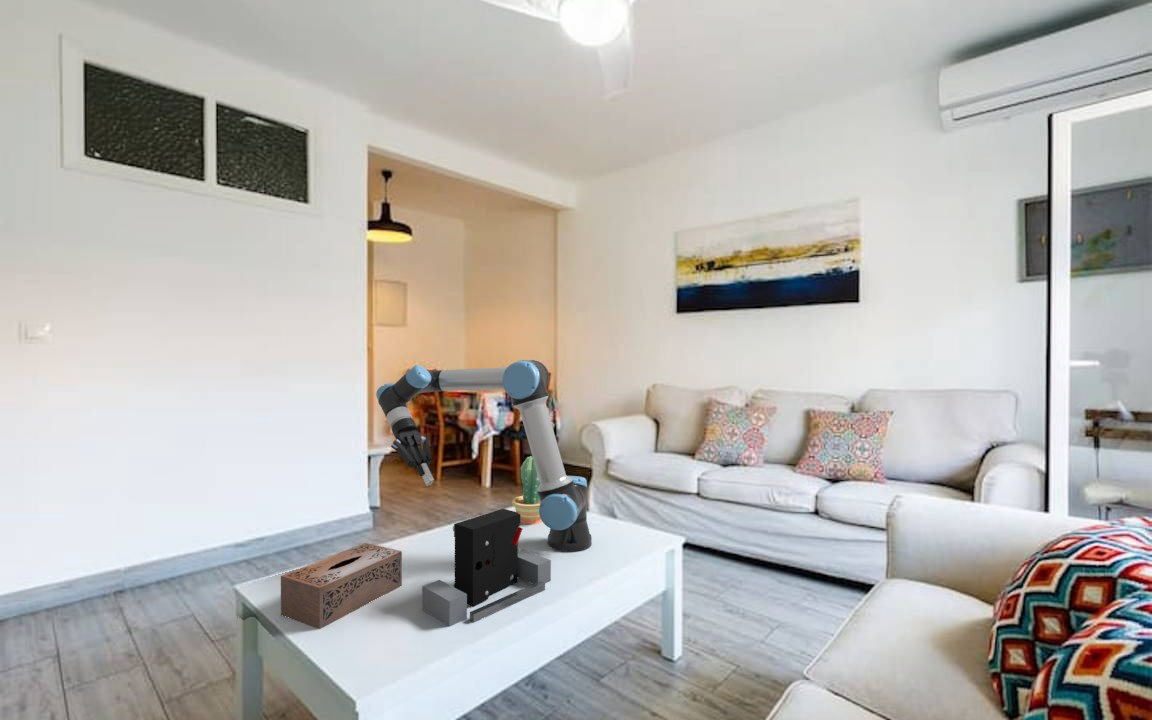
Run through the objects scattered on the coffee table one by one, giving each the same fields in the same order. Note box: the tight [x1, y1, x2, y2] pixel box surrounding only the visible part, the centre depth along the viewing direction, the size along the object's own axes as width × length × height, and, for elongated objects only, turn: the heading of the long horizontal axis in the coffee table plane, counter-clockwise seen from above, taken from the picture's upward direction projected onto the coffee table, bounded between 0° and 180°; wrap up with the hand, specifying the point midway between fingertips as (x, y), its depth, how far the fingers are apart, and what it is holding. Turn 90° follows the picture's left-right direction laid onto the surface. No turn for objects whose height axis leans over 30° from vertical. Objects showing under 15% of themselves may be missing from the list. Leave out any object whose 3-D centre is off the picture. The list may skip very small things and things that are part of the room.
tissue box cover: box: [280, 542, 403, 630], centre depth 137 cm, size 26×14×10 cm, turn 153°
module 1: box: [421, 579, 468, 627], centre depth 130 cm, size 5×12×6 cm, turn 48°
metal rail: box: [469, 581, 546, 623], centre depth 135 cm, size 24×2×2 cm, turn 138°
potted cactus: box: [511, 455, 543, 525], centre depth 203 cm, size 15×15×25 cm
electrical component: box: [452, 508, 524, 608], centre depth 143 cm, size 18×10×20 cm, turn 142°
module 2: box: [518, 548, 552, 585], centre depth 151 cm, size 5×12×6 cm, turn 48°
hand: (430, 482), depth 160 cm, fingers closed
